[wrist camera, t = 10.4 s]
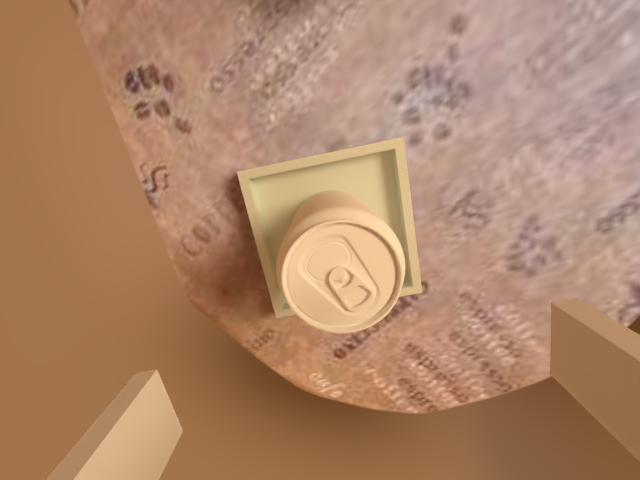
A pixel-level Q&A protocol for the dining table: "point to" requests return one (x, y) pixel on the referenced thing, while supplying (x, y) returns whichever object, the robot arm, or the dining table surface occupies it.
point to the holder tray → (322, 175)
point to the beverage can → (340, 264)
